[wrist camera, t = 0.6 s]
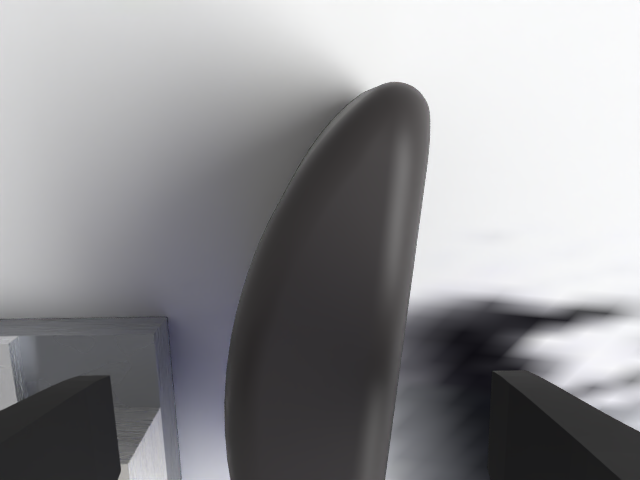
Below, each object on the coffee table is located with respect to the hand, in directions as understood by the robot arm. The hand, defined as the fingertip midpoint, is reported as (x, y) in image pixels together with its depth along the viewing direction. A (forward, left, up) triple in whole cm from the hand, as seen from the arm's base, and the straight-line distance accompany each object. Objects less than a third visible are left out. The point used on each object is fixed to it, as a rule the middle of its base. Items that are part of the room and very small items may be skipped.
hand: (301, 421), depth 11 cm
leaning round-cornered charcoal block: (0, 0, -9) cm, 9 cm away
